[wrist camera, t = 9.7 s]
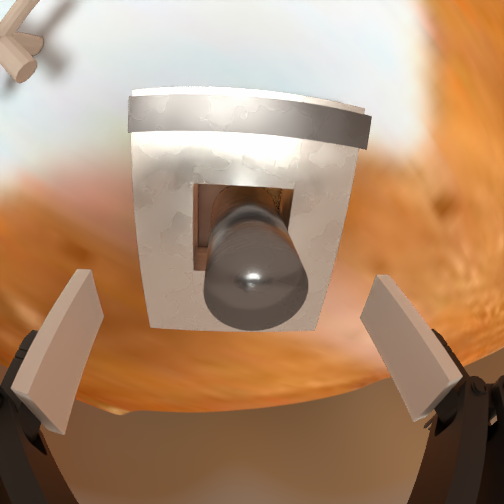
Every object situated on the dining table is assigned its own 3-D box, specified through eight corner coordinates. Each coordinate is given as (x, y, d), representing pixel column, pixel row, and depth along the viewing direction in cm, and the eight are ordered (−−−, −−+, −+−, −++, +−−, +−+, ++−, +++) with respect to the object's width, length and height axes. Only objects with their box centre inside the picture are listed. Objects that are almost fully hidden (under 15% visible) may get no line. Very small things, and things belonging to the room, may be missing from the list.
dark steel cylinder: (211, 239, 22) (204, 329, 14) (213, 180, 20) (202, 244, 11) (271, 241, 23) (298, 330, 14) (278, 184, 20) (317, 248, 12)
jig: (157, 301, 25) (145, 344, 20) (148, 92, 16) (120, 88, 11) (305, 305, 26) (320, 347, 22) (343, 106, 18) (380, 110, 13)
